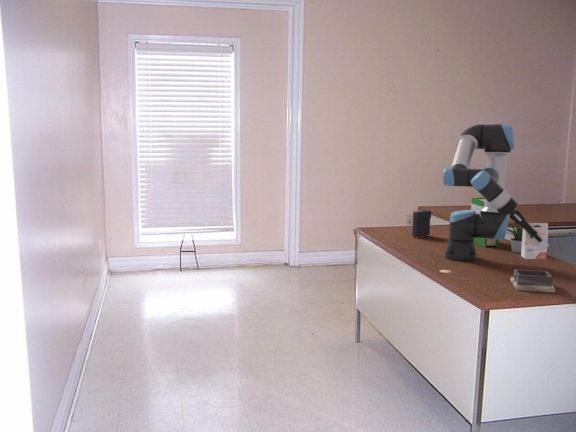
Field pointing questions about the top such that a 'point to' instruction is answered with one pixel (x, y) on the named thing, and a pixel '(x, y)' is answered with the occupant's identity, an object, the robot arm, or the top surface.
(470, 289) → the top surface
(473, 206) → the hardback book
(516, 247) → the house plant
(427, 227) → the dark navy upright block
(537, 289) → the sleeve stand
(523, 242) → the ink cartridge box
